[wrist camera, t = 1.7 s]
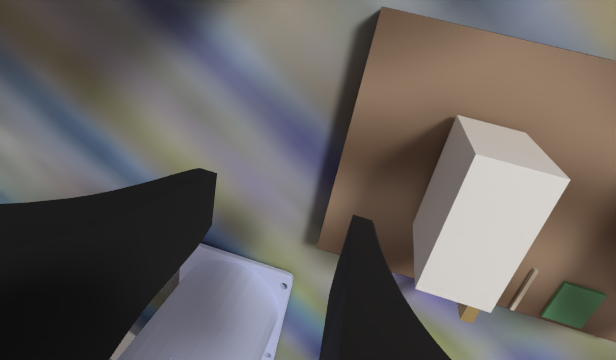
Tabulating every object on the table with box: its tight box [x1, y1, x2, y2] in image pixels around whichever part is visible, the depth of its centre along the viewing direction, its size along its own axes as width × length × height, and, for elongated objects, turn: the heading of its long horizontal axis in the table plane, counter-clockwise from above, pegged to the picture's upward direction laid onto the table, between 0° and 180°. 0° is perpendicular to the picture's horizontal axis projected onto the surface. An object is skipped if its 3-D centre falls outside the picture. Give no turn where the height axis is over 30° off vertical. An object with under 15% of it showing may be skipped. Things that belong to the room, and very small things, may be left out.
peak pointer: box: [457, 302, 480, 323], centre depth 19 cm, size 2×1×2 cm, turn 168°
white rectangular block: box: [413, 115, 570, 313], centre depth 16 cm, size 9×3×5 cm, turn 168°
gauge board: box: [317, 7, 616, 342], centre depth 16 cm, size 13×18×6 cm
